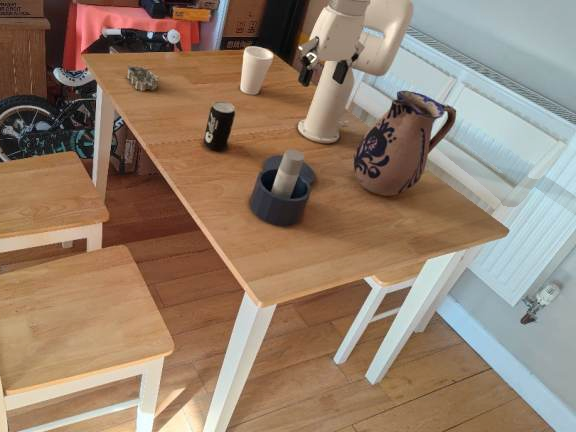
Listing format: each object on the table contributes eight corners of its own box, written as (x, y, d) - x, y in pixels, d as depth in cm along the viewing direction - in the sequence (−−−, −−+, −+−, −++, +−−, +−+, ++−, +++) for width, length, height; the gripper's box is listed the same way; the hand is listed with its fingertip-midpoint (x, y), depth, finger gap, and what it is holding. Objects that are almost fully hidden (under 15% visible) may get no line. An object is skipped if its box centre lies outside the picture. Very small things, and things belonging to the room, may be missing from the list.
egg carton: (158, 91, 159) (160, 78, 156) (135, 92, 156) (137, 79, 153) (147, 75, 166) (148, 63, 163) (125, 75, 163) (126, 63, 160)
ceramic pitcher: (332, 168, 142) (367, 85, 126) (392, 163, 149) (433, 84, 133) (369, 209, 130) (412, 122, 114) (432, 201, 137) (481, 120, 121)
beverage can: (224, 154, 138) (234, 115, 130) (200, 148, 138) (209, 108, 130) (228, 142, 143) (238, 104, 135) (205, 136, 143) (213, 97, 135)
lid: (294, 155, 143) (301, 137, 139) (323, 184, 134) (331, 165, 131) (253, 161, 137) (259, 142, 133) (281, 192, 129) (288, 172, 125)
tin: (282, 188, 130) (291, 164, 125) (311, 220, 122) (321, 196, 117) (240, 196, 125) (247, 171, 120) (267, 230, 116) (276, 204, 112)
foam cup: (245, 80, 175) (254, 44, 167) (268, 91, 172) (278, 54, 164) (230, 88, 169) (239, 50, 160) (253, 99, 165) (264, 61, 157)
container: (271, 197, 125) (289, 146, 116) (288, 206, 124) (308, 154, 114) (263, 207, 122) (281, 154, 112) (281, 215, 121) (300, 163, 111)
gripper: (367, -2, 109) (339, 73, 120) (303, -4, 102) (279, 76, 112) (391, 11, 104) (360, 88, 115) (325, 11, 97) (298, 93, 108)
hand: (320, 82), depth 114 cm, fingers open, 9 cm apart
